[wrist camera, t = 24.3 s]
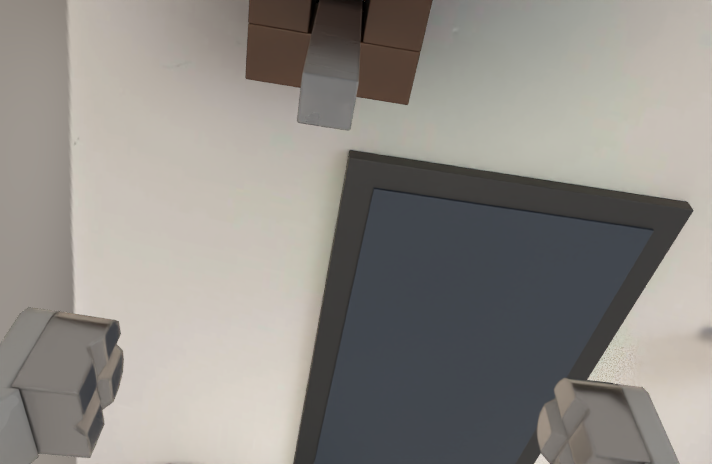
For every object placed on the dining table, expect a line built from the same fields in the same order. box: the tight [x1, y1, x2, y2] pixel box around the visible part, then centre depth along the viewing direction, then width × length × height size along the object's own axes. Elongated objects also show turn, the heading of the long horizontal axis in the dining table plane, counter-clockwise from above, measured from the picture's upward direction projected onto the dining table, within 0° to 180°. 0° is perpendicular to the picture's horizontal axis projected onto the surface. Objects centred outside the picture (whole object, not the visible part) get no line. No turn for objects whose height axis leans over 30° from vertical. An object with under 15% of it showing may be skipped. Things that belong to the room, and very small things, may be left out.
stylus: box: [297, 0, 362, 130], centre depth 27 cm, size 2×2×15 cm
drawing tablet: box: [293, 151, 693, 464], centre depth 52 cm, size 40×24×1 cm, turn 171°
